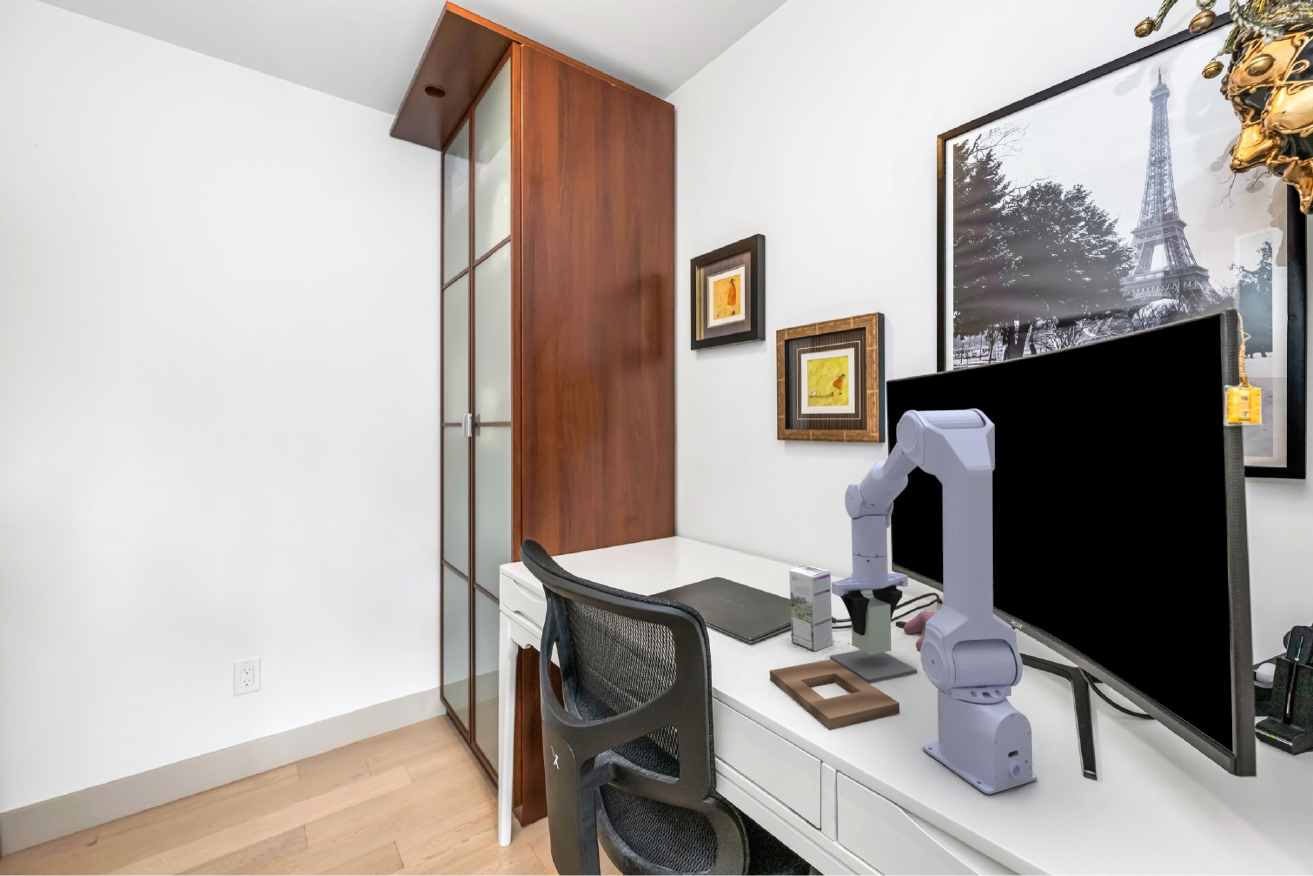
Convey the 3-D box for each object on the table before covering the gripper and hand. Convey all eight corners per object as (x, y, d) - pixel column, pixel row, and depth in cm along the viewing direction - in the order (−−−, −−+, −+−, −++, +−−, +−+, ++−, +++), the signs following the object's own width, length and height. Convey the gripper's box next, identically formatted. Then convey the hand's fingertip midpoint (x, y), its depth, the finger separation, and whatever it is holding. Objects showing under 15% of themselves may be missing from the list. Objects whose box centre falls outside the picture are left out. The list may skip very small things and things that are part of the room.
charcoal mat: (917, 673, 90) (917, 669, 90) (868, 683, 86) (868, 679, 86) (875, 650, 99) (875, 647, 99) (829, 658, 96) (829, 655, 96)
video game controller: (939, 661, 97) (957, 628, 97) (914, 649, 98) (932, 616, 97) (922, 640, 107) (938, 610, 106) (900, 629, 108) (916, 599, 107)
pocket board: (899, 713, 77) (899, 702, 77) (829, 729, 74) (829, 718, 74) (830, 667, 92) (830, 659, 92) (770, 679, 89) (769, 670, 89)
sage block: (891, 650, 91) (890, 604, 91) (869, 655, 90) (868, 607, 90) (873, 641, 96) (872, 596, 96) (852, 645, 94) (851, 600, 94)
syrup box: (833, 644, 102) (832, 569, 102) (813, 652, 99) (811, 574, 99) (810, 635, 107) (808, 563, 107) (790, 643, 104) (788, 568, 103)
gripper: (886, 545, 99) (888, 618, 99) (820, 552, 94) (821, 629, 94) (916, 553, 92) (917, 631, 92) (846, 561, 87) (847, 643, 88)
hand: (871, 631), depth 93 cm, fingers closed on sage block, 4 cm apart
